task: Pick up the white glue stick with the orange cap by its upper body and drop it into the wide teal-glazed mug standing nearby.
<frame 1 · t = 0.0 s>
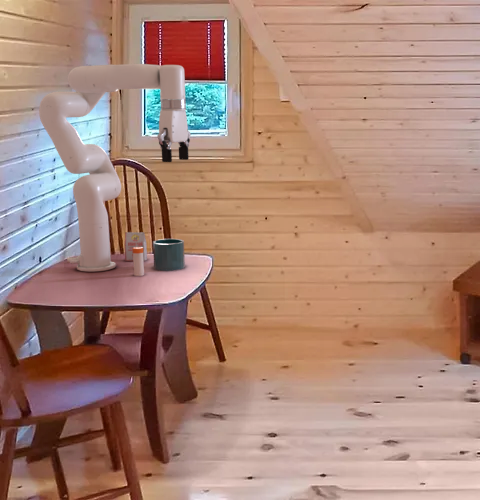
hand: (175, 160, 241), 37 cm above the table, tool pointing down, fingers open, 9 cm apart
mug: (169, 267, 261), on the table
white printed carton: (136, 260, 272), on the table
glue stick: (139, 274, 250), on the table
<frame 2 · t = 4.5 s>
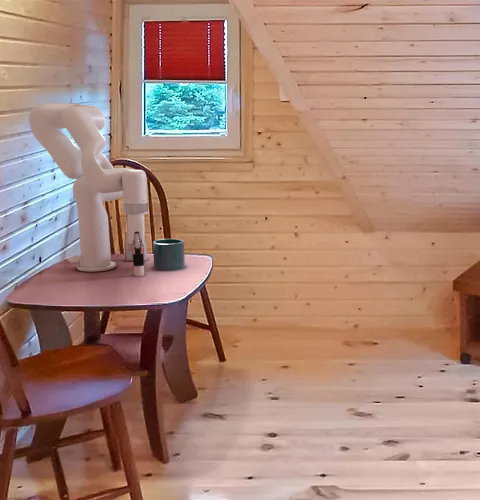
hand: (138, 264, 249), 4 cm above the table, tool pointing down, fingers closed on glue stick, 3 cm apart
glue stick: (139, 274, 250), on the table, touching gripper
everything else where it was.
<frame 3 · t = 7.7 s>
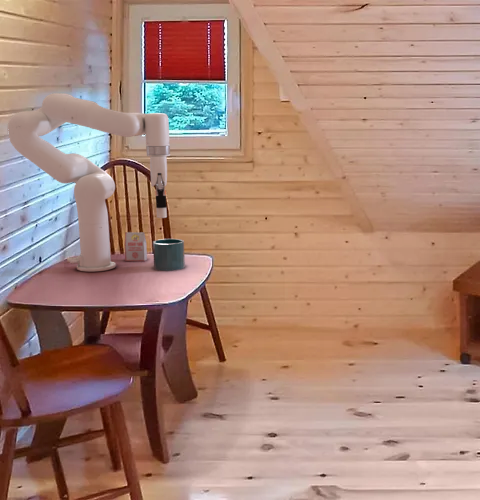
hand: (161, 206, 254), 21 cm above the table, tool pointing down, fingers closed on glue stick, 3 cm apart
glue stick: (161, 217, 255), point 18 cm above the table, touching gripper
everything else where it was.
when the fingers open (10 cm above the table, at t = 11.0 s): glue stick drops 6 cm, resting on mug.
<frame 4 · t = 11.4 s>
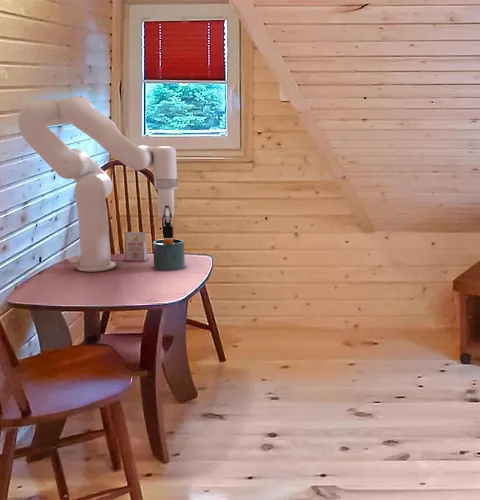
hand: (167, 235, 259), 11 cm above the table, tool pointing down, fingers open, 7 cm apart
mug: (169, 267, 261), on the table, touching glue stick
glue stick: (169, 265, 261), point 1 cm above the table, touching mug
everything else where it was.
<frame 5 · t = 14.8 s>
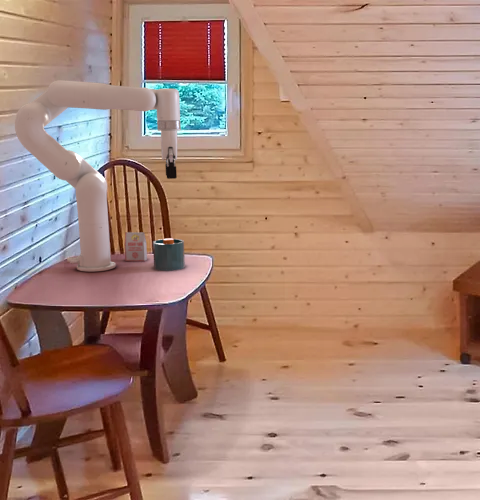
hand: (171, 177, 260), 30 cm above the table, tool pointing down, fingers open, 9 cm apart
nothing on the table moved.
at the end: glue stick inside the target area in the mug (0.0 cm from its centre), point 0.8 cm above the mug's base; the gripper is holding nothing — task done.
